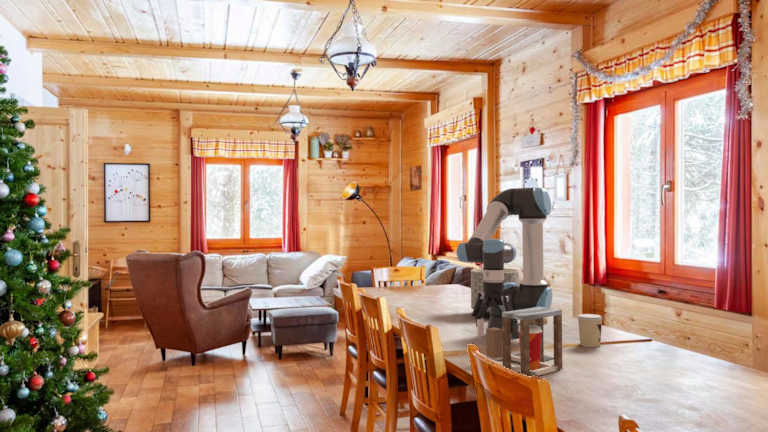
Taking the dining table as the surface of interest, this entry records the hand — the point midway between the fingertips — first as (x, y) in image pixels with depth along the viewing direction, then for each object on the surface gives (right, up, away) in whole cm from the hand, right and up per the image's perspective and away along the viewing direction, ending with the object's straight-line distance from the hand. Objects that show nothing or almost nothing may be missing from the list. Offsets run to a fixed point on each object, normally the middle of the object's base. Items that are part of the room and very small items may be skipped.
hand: (493, 339), depth 218 cm
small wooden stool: (+11, -8, -14) cm, 19 cm away
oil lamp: (+34, -7, +74) cm, 82 cm away
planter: (+18, -8, +96) cm, 98 cm away
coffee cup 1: (+10, -8, -13) cm, 19 cm away
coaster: (+14, -8, +4) cm, 16 cm away
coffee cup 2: (+44, -8, +24) cm, 50 cm away
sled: (+7, -8, -9) cm, 14 cm away
